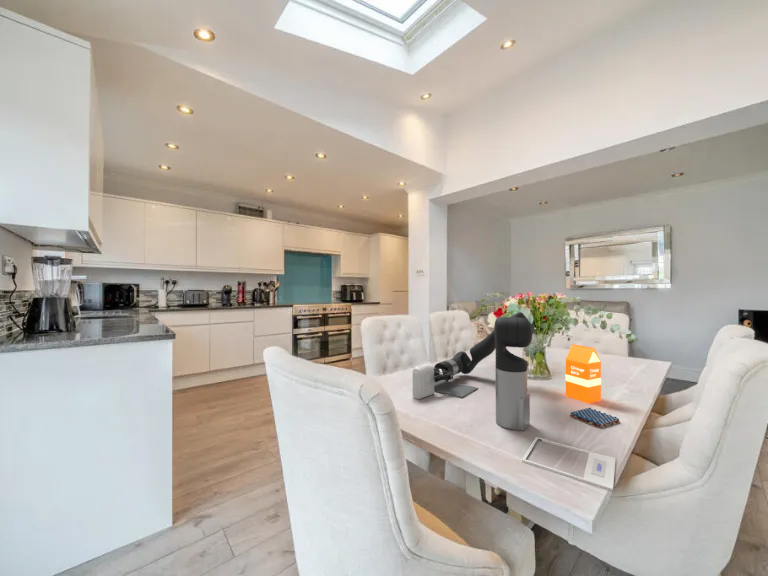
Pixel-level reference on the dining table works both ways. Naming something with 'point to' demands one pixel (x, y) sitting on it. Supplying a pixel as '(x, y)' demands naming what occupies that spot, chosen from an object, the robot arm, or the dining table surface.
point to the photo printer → (423, 381)
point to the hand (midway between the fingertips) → (425, 377)
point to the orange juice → (583, 374)
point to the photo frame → (596, 468)
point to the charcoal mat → (453, 388)
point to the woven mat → (594, 418)
